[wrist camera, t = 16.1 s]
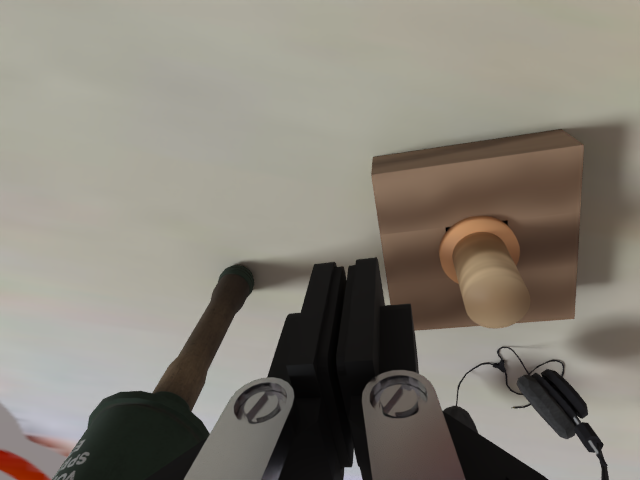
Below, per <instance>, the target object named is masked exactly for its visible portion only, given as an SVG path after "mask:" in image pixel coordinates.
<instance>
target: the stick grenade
mask: <svg viewBox="0 0 640 480" xmlns="http://www.w3.org/2000/svg"><path fill="white" fill-rule="evenodd" d="M253 287H254V279H253V275H252V273H251V272H250V271H249V270H248V269H247V268H245V267H244V266H240V265H234V266H231V267H228V268H226V269H225V270H224V271H223V272H222V274H221V275H220V277H219V281H218V284H217V285H216V287H215V289H214V290H213V293H212V297H211V301H210V303H209V305H208V307H207V309H206V310H205V312H204V314H203V315H202V317H201V319H200V320H199V322H198V324H197V325H196V327H195V329H194V330H193V332H192V334H191V336H190V337H189V339H188V341H187V342H186V344H185V346H184V347H183V349H182V351H181V352H180V354H179V356H178V357H177V358H176V359H175V360H174V361H173V362H172V363H171V364H170V365H169V367H168V368H167V370H166V371H165V373H164V375H163V376H162V378H161V380H160V381H159V383H158V385H157V386H156V388H155V390H154V391H153V393H147V392H143V391H132V392H119V393H117V394H114V395H112V396H109V397H107V398H105V399H103V400H102V401H101V402H100V404H99V405H98V406H97V407H96V409H95V410H94V411H93V412H92V414H91V415H90V417H89V422H88V429H87V430H86V432H85V433H84V434H83V436H82V437H81V439H80V440H79V442H78V443H77V444H76V446H75V447H74V449H73V450H72V452H71V453H70V454H69V456H68V457H67V459H66V460H65V462H64V463H63V464H62V466H61V467H60V469H59V470H58V472H57V473H56V475H55V476H54V477H53V479H52V480H145V479H146V478H148V477H149V476H151V475H152V474H154V473H155V472H157V471H158V470H160V469H161V468H163V467H164V466H166V465H167V464H168V463H170V462H171V461H173V460H174V459H176V458H177V457H179V456H180V455H182V454H183V453H185V452H186V451H188V450H189V449H191V448H192V447H194V446H195V445H197V444H198V443H200V442H201V441H203V440H204V439H206V438H207V437H209V435H210V434H209V432H208V430H207V429H206V427H205V426H204V424H203V422H202V421H201V420H200V419H199V418H198V417H196V416H195V415H194V414H193V413H192V412H191V411H192V409H193V407H194V405H195V403H196V401H197V399H198V396H199V394H200V392H201V390H202V388H203V386H204V384H205V380H206V375H207V371H208V369H209V367H210V365H211V363H212V360H213V358H214V356H215V354H216V352H217V350H218V348H219V346H220V344H221V342H222V340H223V338H224V336H225V334H226V332H227V330H228V328H229V326H230V324H231V322H232V320H233V318H234V316H235V314H236V313H237V312H238V311H239V310H240V309H241V308H242V306H243V304H244V302H245V300H246V298H247V297H248V296H249V295H250V293H251V292H252V290H253Z"/></svg>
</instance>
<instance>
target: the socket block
mask: <svg viewBox="0 0 640 480" xmlns="http://www.w3.org/2000/svg"><path fill="white" fill-rule="evenodd" d="M583 153H584V145H583V144H582V143H581V142H579V141H578V140H576V139H575V138H573V137H572V136H571V135H569V134H568V133H566V132H565V131H563V130H562V129H559V130H552V131H545V132H539V133H532V134H525V135H519V136H512V137H505V138H498V139H492V140H485V141H478V142H471V143H465V144H458V145H451V146H445V147H438V148H431V149H424V150H418V151H411V152H404V153H397V154H391V155H384V156H377V157H373V162H372V173H371V176H372V182H373V189H374V196H375V203H376V209H377V216H378V223H379V229H380V236H381V243H382V250H383V256H384V263H385V270H386V277H387V283H388V290H389V297H390V303H391V305H399V304H411V308H412V316H413V324H414V331H415V330H428V329H442V328H455V327H469V326H481V325H478V324H477V323H475V322H474V321H472V320H471V318H470V317H469V316H468V314H467V312H466V309H465V305H464V302H463V298H462V294H461V290H460V286H459V284H458V283H456V282H454V281H453V280H451V279H450V278H449V277H448V276H447V275H446V273H445V272H444V270H443V268H442V265H441V261H440V256H439V246H440V242H441V240H442V238H443V236H444V234H445V233H446V228H445V227H451V226H453V225H454V224H455V223H457V222H459V221H460V220H463V219H465V218H468V217H473V216H490V217H494V218H497V219H499V220H501V221H502V222H504V223H505V224H507V225H508V226H509V227H510V228H511V230H512V231H513V233H514V235H515V236H516V238H517V240H518V243H519V247H520V256H519V260H518V263H517V265H516V267H517V269H518V271H519V273H520V275H521V277H522V279H523V281H524V283H525V285H526V287H527V289H528V291H529V294H530V299H531V301H530V307H529V309H528V311H527V313H526V314H525V316H524V317H523V318H522V319H521V320H519V321H518V322H516V323H523V322H537V321H551V320H564V319H574V316H575V298H576V280H577V262H578V244H579V226H580V208H581V189H582V171H583Z"/></svg>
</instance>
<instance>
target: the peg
mask: <svg viewBox="0 0 640 480" xmlns="http://www.w3.org/2000/svg"><path fill="white" fill-rule="evenodd" d="M439 256H440V261H441V265H442V268H443V270H444V272H445V273H446V275H447V276H448V277H449V278H450V279H451V280H453V281H454V282H456V283H458V284H459V286H460V290H461V294H462V298H463V302H464V305H465V309H466V312H467V314H468V316H469V317H470V318H471V320H472V321H474V322H475V323H477V324H478V325H481V326H483V327H487V328H503V327H507V326H510V325H513V324H515V323H516V322H518V321H519V320H521V319H522V318H523V317H524V316H525V314H526V313H527V311H528V309H529V307H530V301H531V299H530V294H529V291H528V289H527V287H526V285H525V283H524V281H523V279H522V277H521V275H520V273H519V271H518V269H517V267H516V265H517V263H518V260H519V256H520V247H519V243H518V240H517V238H516V236H515V235H514V233H513V231H512V230H511V228H510V227H509V226H508V225H507V224H505V223H504V222H502V221H501V220H499V219H497V218H494V217H490V216H473V217H468V218H465V219H463V220H460V221H459V222H457V223H455V224H454V225H453V226H451V227H450V228H449V229H448V230H447V232H446V233H445V234H444V236H443V238H442V240H441V242H440V246H439Z"/></svg>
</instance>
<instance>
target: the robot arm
mask: <svg viewBox="0 0 640 480" xmlns="http://www.w3.org/2000/svg"><path fill="white" fill-rule="evenodd" d="M354 450H355V455H356V459H357V464H358V466H359V467H360V470H361V474H362V479H363V480H548V479H547V478H546V477H544V476H543V475H541V474H540V473H538V472H537V471H535V470H534V469H532V468H530V467H529V466H527V465H526V464H524V463H523V462H521V461H520V460H518V459H517V458H515V457H513V456H512V455H510V454H509V453H507V452H506V451H504V450H503V449H501V448H500V447H498V446H496V445H495V444H493V443H492V442H490V441H489V440H487V439H486V438H484V437H483V436H481V435H479V434H478V433H476V432H475V431H473V430H472V429H470V428H469V427H467V426H466V425H464V424H462V423H461V422H459V421H458V420H456V419H455V418H453V417H452V416H450V415H449V414H447V413H445V412H444V411H442V409H441V406H440V403H439V400H438V397H437V394H436V391H435V389H434V387H433V385H432V384H431V382H430V381H429V380H427V379H426V378H425V377H424V376H422V375H420V374H419V370H418V359H417V349H416V340H415V332H414V324H413V316H412V308H411V304H399V305H387V306H385V303H384V296H383V290H382V284H381V277H380V271H379V264H378V259H377V258H368V259H359V260H356V265H353V266H349V268H348V275H347V280H346V275H345V270H344V267H337V266H336V263H335V262H330V263H321V264H314V267H313V270H312V274H311V277H310V281H309V285H308V288H307V292H306V296H305V299H304V303H303V306H302V310H301V313H293V314H289V315H288V316H287V318H286V320H285V323H284V327H283V330H282V333H281V336H280V339H279V342H278V345H277V348H276V352H275V355H274V358H273V361H272V364H271V367H270V370H269V374H268V377H267V378H261V379H258V380H254V381H252V382H250V383H248V384H246V385H244V386H243V387H241V388H240V389H239V390H238V391H236V392H235V394H234V395H233V396H232V397H231V399H230V400H229V402H228V404H227V405H226V407H225V409H224V411H223V412H222V414H221V416H220V418H219V419H218V421H217V423H216V424H215V426H214V428H213V430H212V431H211V433H210V435H209V437H207V438H206V439H204V440H203V441H201V442H200V443H198V444H197V445H195V446H194V447H192V448H191V449H189V450H188V451H186V452H185V453H183V454H182V455H180V456H179V457H177V458H176V459H174V460H173V461H171V462H170V463H168V464H167V465H166V466H164V467H163V468H161V469H160V470H158V471H157V472H155V473H154V474H152V475H151V476H149V477H148V478H146V479H145V480H343V477H344V467H352V464H353V452H354Z"/></svg>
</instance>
